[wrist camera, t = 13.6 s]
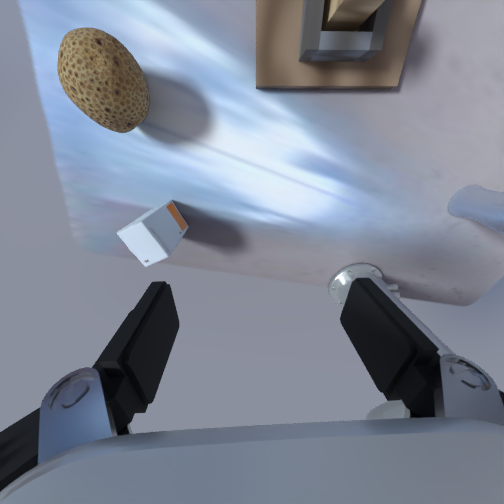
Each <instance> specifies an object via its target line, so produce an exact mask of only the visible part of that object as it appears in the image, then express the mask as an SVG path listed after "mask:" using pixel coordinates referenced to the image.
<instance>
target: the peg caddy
mask: <svg viewBox="0 0 504 504" xmlns="http://www.w3.org/2000/svg"><path fill="white" fill-rule="evenodd" d="M324 1H325V0H256V88H281V89H391V88H394V87H396V86H398V82H399V78H400V75H401V71H402V68H403V64H404V61H405V57H406V54H407V50H408V46H409V43H410V39H411V36H412V32H413V29H414V25H415V21H416V18H417V14H418V11H419V7H420V4H421V0H385V1H384V2H383V3H382V4H381V5H380V6H379V7H378V8H377V9H376V10H375V11H374V12H373V13H372V14H371V15H370V16H369V17H368V18H367V19H366V20H365V21H364V22H363V23H362V24H361V25H360V26H359V27H358V28H357V29H356V30H355V31H354V32H349V31H321V27H322V18H323V10H324Z"/></svg>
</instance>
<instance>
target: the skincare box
mask: <svg viewBox="0 0 504 504" xmlns="http://www.w3.org/2000/svg"><path fill="white" fill-rule="evenodd" d="M188 228H189V226H188V225H187V223H186V222H185V220H184V219H183V217H182V216H181V214H180V212H179V211H178V209H177V207H176V206H175V204H174V203H173V201H172V200H170V201H168V202H165V203H163V204H161V205H159V206H157V207H155V208H153V209H151V210H150V211H148V212H147V213H145V214H144V215H142V216H141V217H139V218H138V219H136V220H135V221H133V222H132V223H130V224H129V225H127V226H126V227H124V228H123V229H121V230H120V231H118V232H117V234H118V235H119V237H120V238H121V239H122V240H123V241H124V243H125V244H126V245H127V246H128V248H129V249H130V250H131V252H132V253H133V254H134V255H135V256H136V257H137V258H138V259H139V260H140V261H141V262H142V263H143V265H144V266H145V267H148V266H150V265H152V264H154V263H156V262H158V261H161V260H163V259H165V258H167V257H169V256H170V254H171V253H172V251H173V250H174V249H175V247H176V246H177V244H178V243H179V241H180V240H181V238H182V237H183V235H184V234H185V232H186V231H187V229H188Z"/></svg>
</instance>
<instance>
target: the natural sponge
mask: <svg viewBox="0 0 504 504" xmlns="http://www.w3.org/2000/svg"><path fill="white" fill-rule="evenodd" d="M58 75H59V80H60V83H61V85H62V87H63V89H64V91H65V93H66V94H67V96H68V97H69V98H70V99H71V100H72V102H73V103H74V104H75V105H76V106H77V107H78V108H79V109H80V110H81V111H82V112H84V113H85V114H86V115H87V116H88V117H90V118H91V119H92V120H94V121H95V122H96V123H98V124H99V125H101V126H103V127H105V128H107V129H110V130H112V131H115V132H119V133H126V132H129V131H131V130H133V129H134V128H135V127H136V126H138V125H139V124H140V123H141V122H143V121H144V119H145V118H146V116H147V114H148V109H149V90H148V85H147V82H146V79H145V76H144V74H143V72H142V70H141V68H140V66H139V65H138V63H137V61H136V60H135V59H134V57H133V56H132V54H131V53H130V52H129V51H128V50H127V49H126V47H125V46H124V45H123V44H121V43H120V42H119V41H118V40H117V39H116V38H114V37H113V36H111V35H109V34H108V33H106V32H104V31H102V30H99V29H95V28H78V29H74V30H72V31H70V32H68V33H67V34H66V35H65V36H64V38H63V40H62V43H61V45H60V49H59V53H58Z"/></svg>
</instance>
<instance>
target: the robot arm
mask: <svg viewBox="0 0 504 504" xmlns="http://www.w3.org/2000/svg"><path fill="white" fill-rule="evenodd" d="M397 289H398V285H397V284H386V283H385V282H384V281H383V277H382V274H381V272H380V271H379V270H378V269H377V268H376V267H374V266H373V265H370V264H365V263H359V264H354V265H351V266H348V267H346V268H344V269H342V270H341V271H339V272H338V273H337V274H336V275H335V276H334V277H333V278H332V280H331V282H330V284H329V288H328V292H329V295H330V297H331V299H332V300H333V301H334V302H335V303H336V304H338V305H341V306H344V307H343V310H342V313H341V317H340V321H341V324H342V326H343V328H344V329H345V331H346V333H347V335H348V337H349V338H350V340H351V342H352V344H353V346H354V347H355V349H356V351H357V353H358V354H359V356H360V358H361V360H362V362H363V363H364V365H365V367H366V369H367V370H368V372H369V374H370V375H371V377H372V379H373V381H374V383H375V385H376V387H377V388H378V390H379V391H380V392H382V393H384V395H385V397H386V399H387V402H385V403H383V404H381V405H379V406H377V407H375V408H373V409H372V410H371V411H369V413H368V414H367V416H366V419H365V420H353V421H332V422H313V423H293V424H275V425H256V426H238V427H222V428H204V429H187V430H174V431H161V432H150V433H136V434H132V430H131V427H130V422H131V421H132V419H133V416H134V414H135V413H145V412H146V409H147V406H148V404H150V403H152V402H153V400H154V398H155V394H156V392H157V389H158V386H159V383H160V380H161V378H162V375H163V372H164V369H165V366H166V363H167V361H168V358H169V355H170V352H171V349H172V346H173V343H174V341H175V338H176V335H177V332H178V329H179V319H178V315H177V311H176V307H175V303H174V299H173V295H172V291H171V287H170V285H169V284H167V283H166V282H164V281H163V282H152V283H151V284H150V286H149V287H148V289H147V290H146V292H145V293H144V295H143V296H142V298H141V299H140V301H139V302H138V304H137V305H136V307H135V308H134V309H133V310H132V311H131V312H130V313H129V314H128V316H127V317H126V319H125V320H124V322H123V323H122V324H121V326H120V327H119V329H118V330H117V332H116V333H115V335H114V336H113V338H112V339H111V341H110V342H109V343H108V345H107V346H106V348H105V349H104V351H103V352H102V354H101V355H100V357H99V358H98V360H97V361H96V362H95V364H94V365H93V367H92V368H90V367H85V368H81V369H78V370H75V371H73V372H71V373H69V374H67V375H66V376H64V377H63V378H61V379H60V380H59V381H58V382H57V383H55V384H54V385H53V386H52V387H51V389H50V390H49V391H48V392H47V393H46V395H45V397H44V398H43V400H42V403H41V407H40V408H38V409H37V410H35V411H33V412H32V413H30V414H29V415H27V416H25V417H24V418H22V419H21V420H19V421H18V422H16V423H14V424H13V425H11V426H9V427H8V428H6V429H5V430H3V431H2V432H0V504H504V393H503V392H502V391H501V390H499V389H498V388H497V385H496V384H495V382H494V380H493V379H492V378H491V377H490V376H489V374H488V373H486V372H485V371H484V370H483V369H482V368H481V367H479V366H478V365H476V364H475V363H473V362H472V361H470V360H468V359H466V358H464V357H461V356H458V355H456V354H455V353H454V352H453V351H452V350H451V349H450V348H449V347H448V346H446V345H445V344H444V343H443V342H442V341H441V340H440V339H439V338H438V337H437V336H436V335H435V334H434V333H433V332H432V331H431V330H430V329H429V328H427V327H426V326H425V325H424V324H423V323H422V322H421V321H420V320H419V319H418V318H417V317H416V316H415V315H414V314H413V313H412V312H411V311H410V310H409V309H408V308H407V307H406V306H405V305H404V304H402V302H401V301H400V300H399V298H400V293H399V292H398V291H389V290H397Z"/></svg>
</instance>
